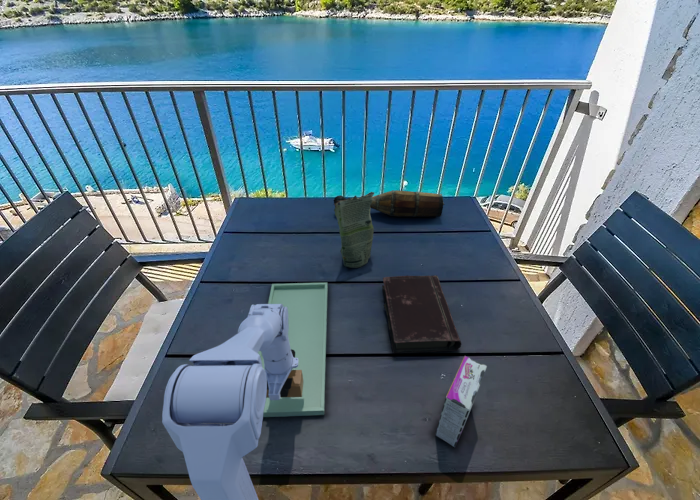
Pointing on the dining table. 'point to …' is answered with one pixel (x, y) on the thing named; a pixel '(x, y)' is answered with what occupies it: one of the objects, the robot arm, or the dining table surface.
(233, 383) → the robot arm
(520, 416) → the dining table surface
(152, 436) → the dining table surface
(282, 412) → the tray
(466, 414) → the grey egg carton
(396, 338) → the diary
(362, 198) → the pouch
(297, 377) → the block
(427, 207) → the decorative bottle
